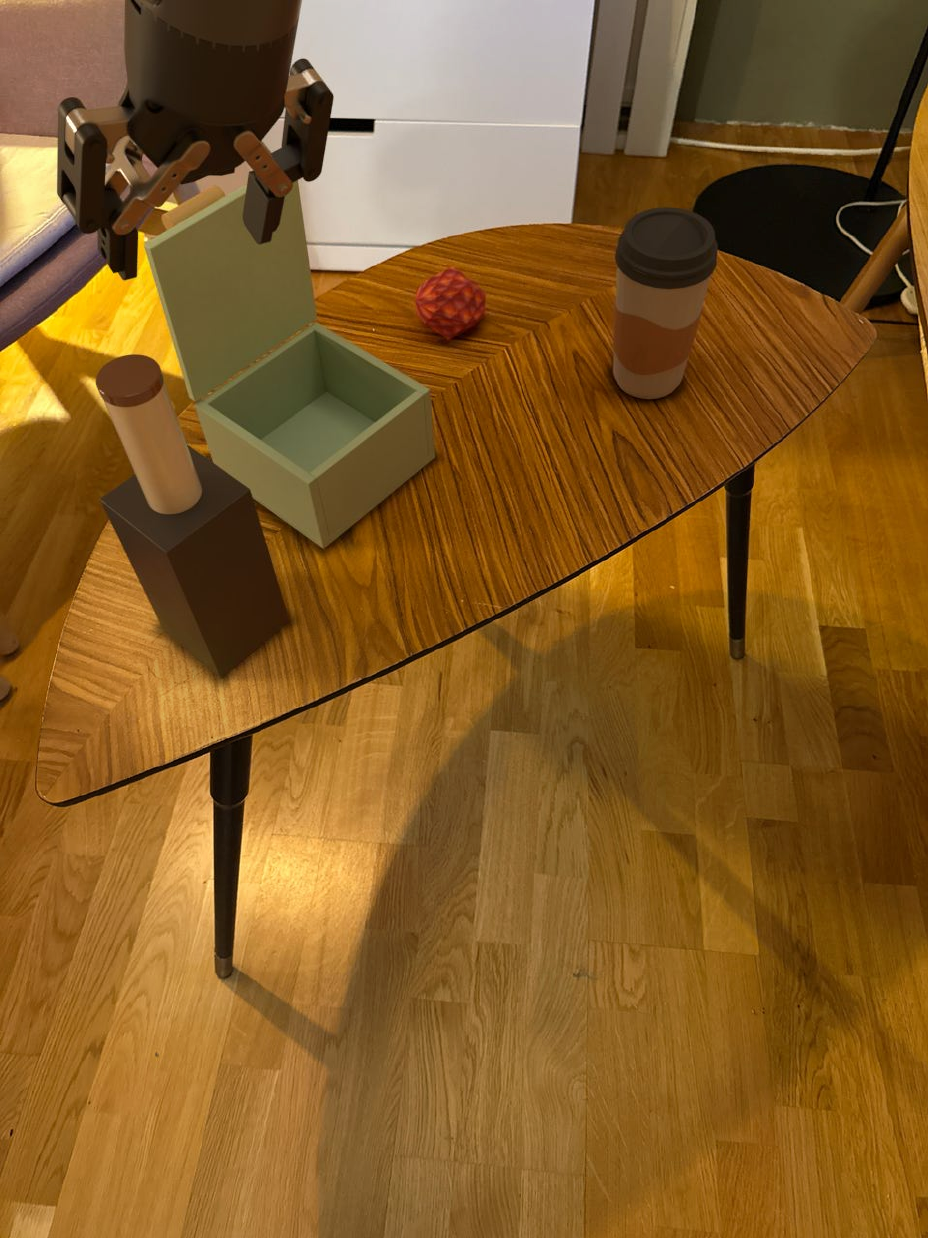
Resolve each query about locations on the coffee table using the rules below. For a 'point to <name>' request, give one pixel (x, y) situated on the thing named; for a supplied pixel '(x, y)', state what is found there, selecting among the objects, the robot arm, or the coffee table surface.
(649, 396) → the coffee cup
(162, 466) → the canister
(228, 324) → the chest lid
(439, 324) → the red faceted ball
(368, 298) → the coffee table surface
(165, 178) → the robot arm
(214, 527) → the block
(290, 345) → the chest
